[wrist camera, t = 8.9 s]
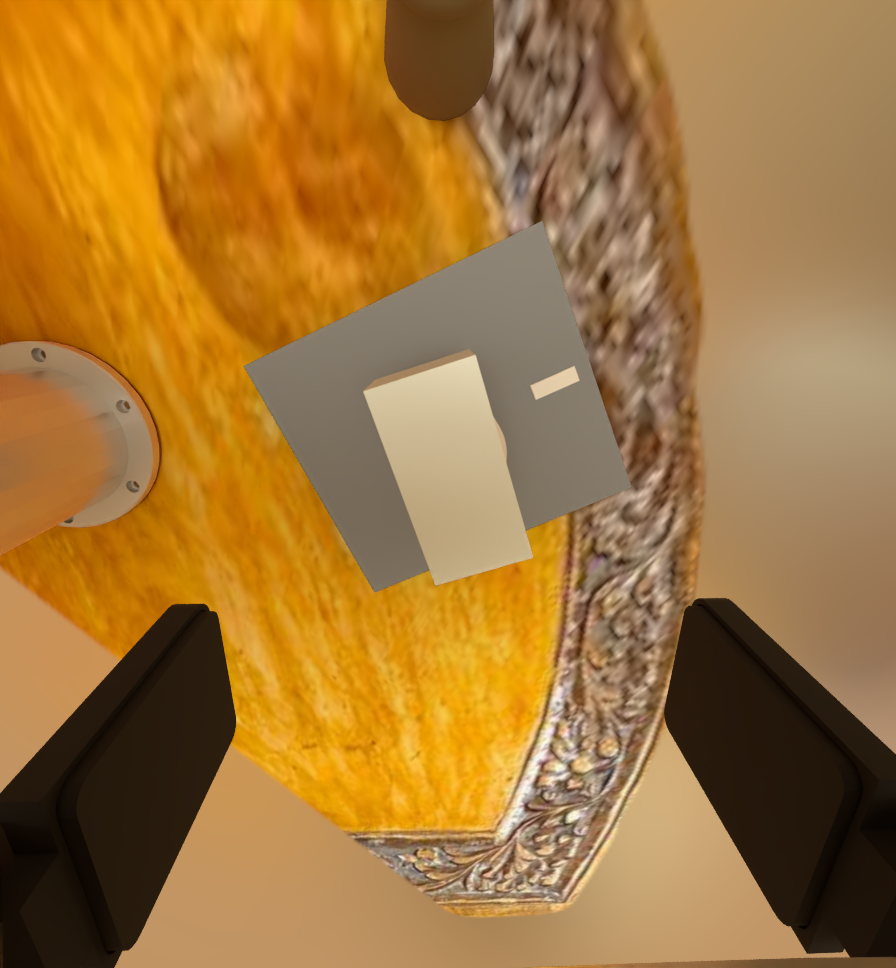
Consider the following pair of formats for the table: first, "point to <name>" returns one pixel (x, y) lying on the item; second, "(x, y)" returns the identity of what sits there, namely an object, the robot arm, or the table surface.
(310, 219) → the table surface
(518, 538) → the cream rectangular block
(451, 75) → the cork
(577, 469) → the base plate
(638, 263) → the table surface
